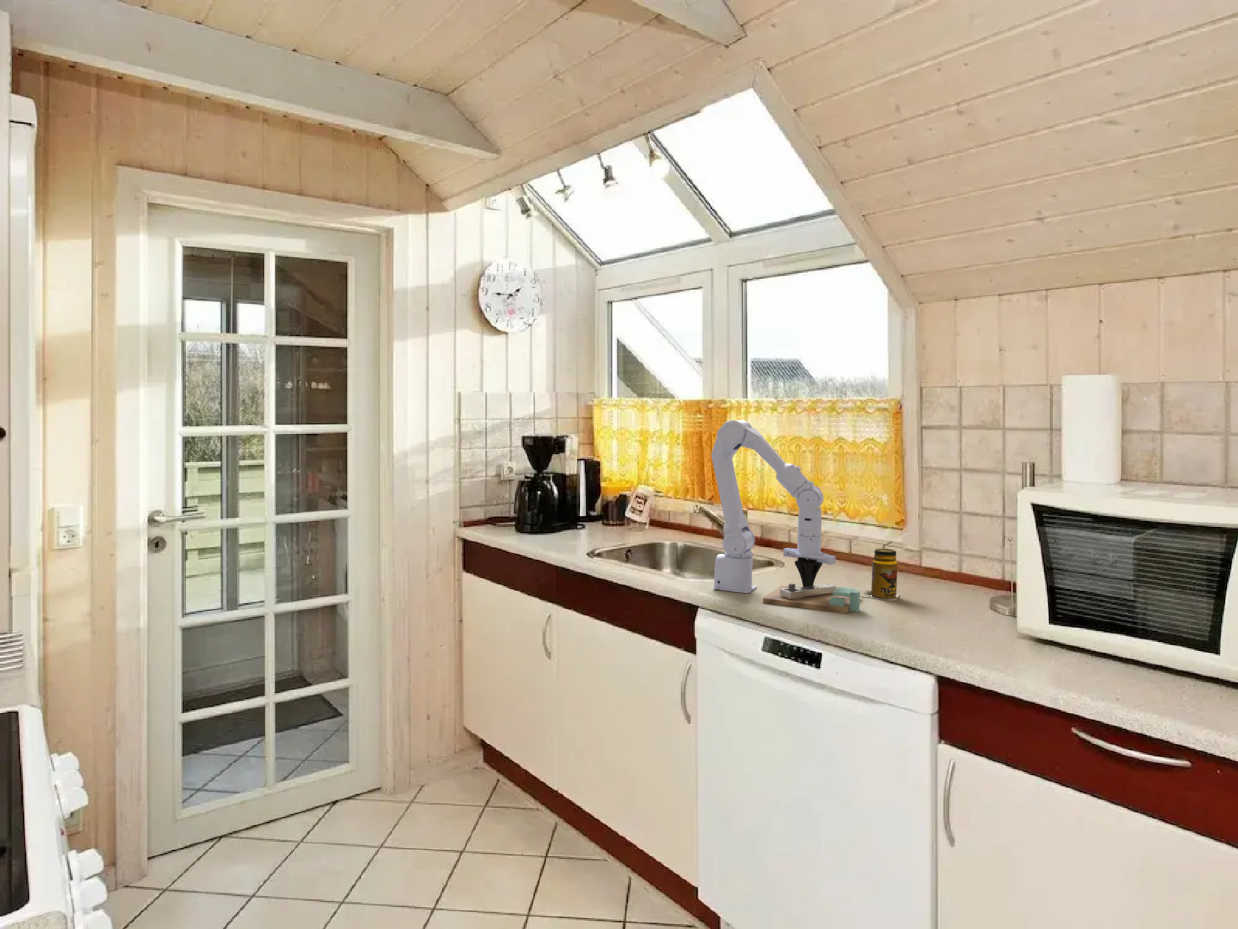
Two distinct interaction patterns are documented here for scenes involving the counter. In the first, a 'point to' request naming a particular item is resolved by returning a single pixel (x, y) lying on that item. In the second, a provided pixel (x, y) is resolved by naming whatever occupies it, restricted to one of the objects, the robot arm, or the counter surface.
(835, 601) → the keeper
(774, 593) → the board
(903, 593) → the counter surface
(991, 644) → the counter surface
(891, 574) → the condiment
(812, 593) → the link
